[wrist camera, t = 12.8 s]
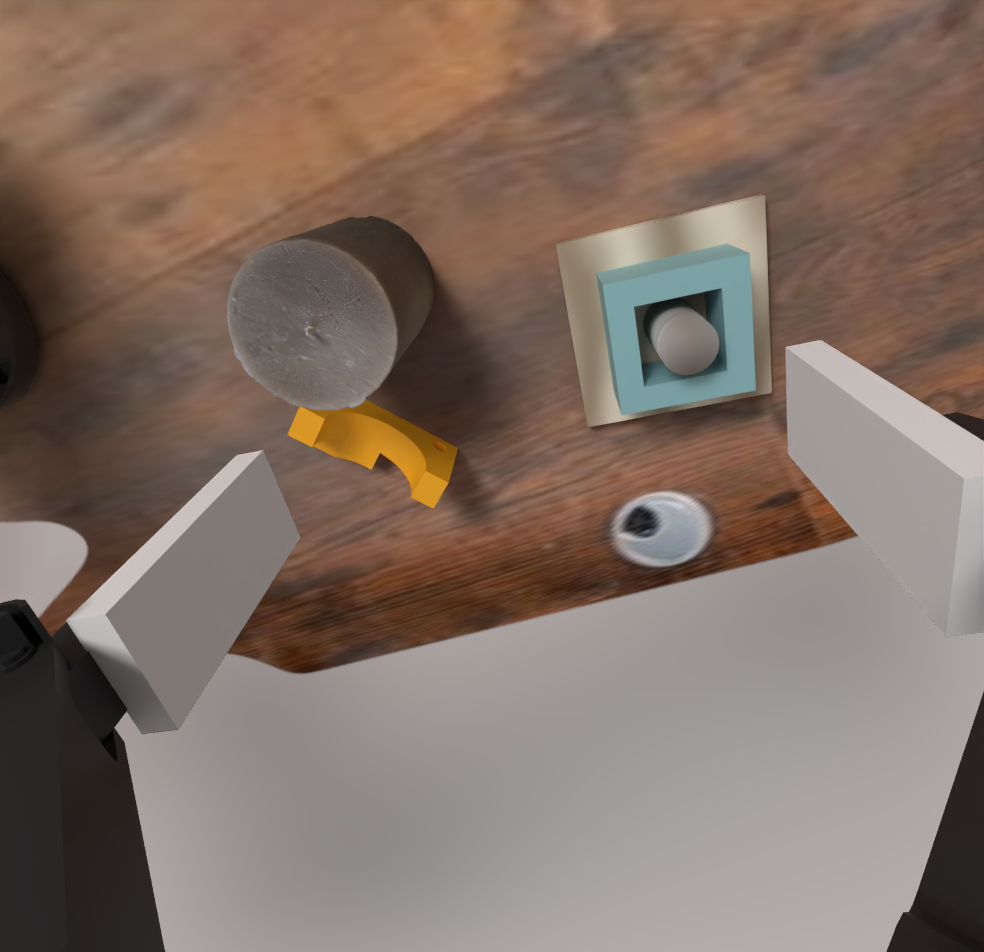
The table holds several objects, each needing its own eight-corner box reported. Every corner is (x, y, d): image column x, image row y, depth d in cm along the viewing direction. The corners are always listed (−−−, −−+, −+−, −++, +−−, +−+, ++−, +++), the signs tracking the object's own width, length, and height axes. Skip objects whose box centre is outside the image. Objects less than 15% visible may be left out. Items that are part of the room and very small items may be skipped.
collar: (613, 391, 47) (621, 415, 43) (596, 273, 44) (602, 285, 39) (734, 368, 46) (755, 390, 42) (727, 243, 42) (749, 252, 38)
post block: (587, 422, 50) (595, 465, 43) (555, 243, 44) (558, 258, 37) (767, 388, 48) (808, 428, 40) (760, 194, 42) (806, 200, 34)
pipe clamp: (308, 421, 52) (279, 453, 46) (327, 378, 50) (300, 406, 44) (435, 486, 54) (423, 525, 48) (458, 447, 52) (448, 482, 46)
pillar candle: (380, 187, 43) (310, 196, 30) (460, 306, 46) (429, 363, 33) (279, 267, 46) (174, 309, 33) (361, 373, 49) (296, 451, 36)
